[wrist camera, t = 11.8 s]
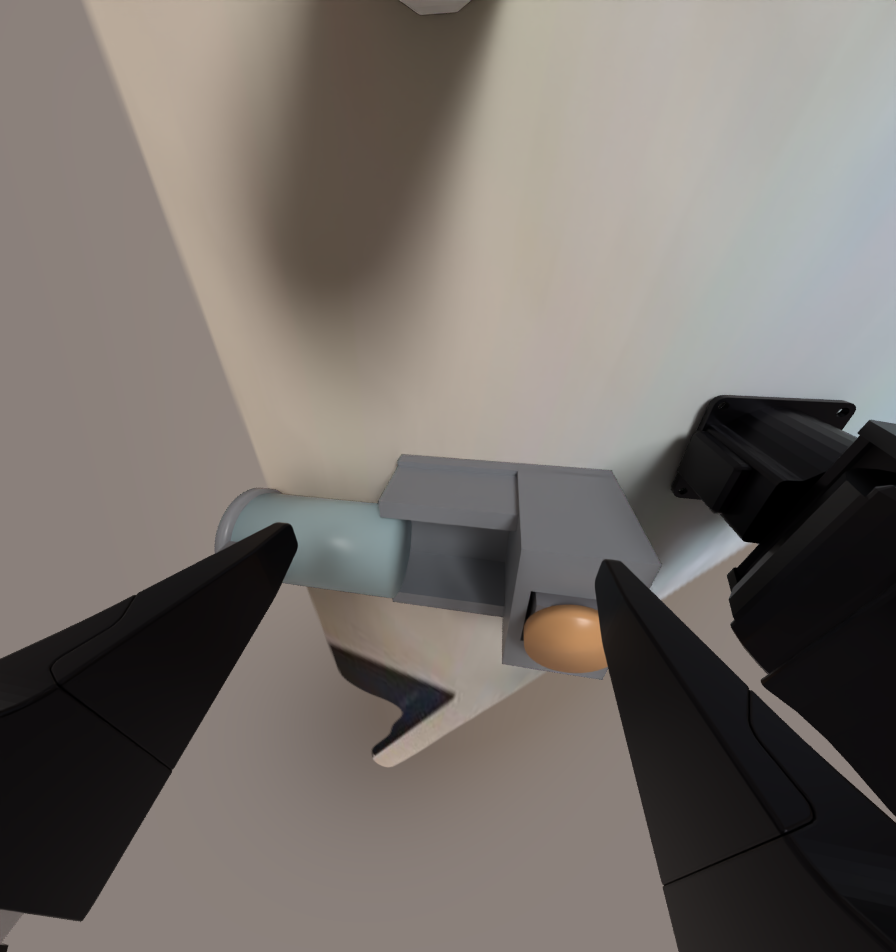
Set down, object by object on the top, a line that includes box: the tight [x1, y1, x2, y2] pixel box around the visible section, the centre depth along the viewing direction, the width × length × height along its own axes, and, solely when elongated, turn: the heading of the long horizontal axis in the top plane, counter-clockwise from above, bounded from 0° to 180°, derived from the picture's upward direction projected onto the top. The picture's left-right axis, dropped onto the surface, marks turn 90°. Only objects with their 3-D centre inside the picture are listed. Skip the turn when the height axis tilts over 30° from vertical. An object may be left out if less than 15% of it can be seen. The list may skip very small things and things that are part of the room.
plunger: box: [523, 591, 608, 673], centre depth 17 cm, size 5×5×4 cm
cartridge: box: [215, 488, 412, 598], centre depth 21 cm, size 11×7×10 cm, turn 90°
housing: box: [378, 454, 662, 680], centre depth 21 cm, size 14×10×8 cm
